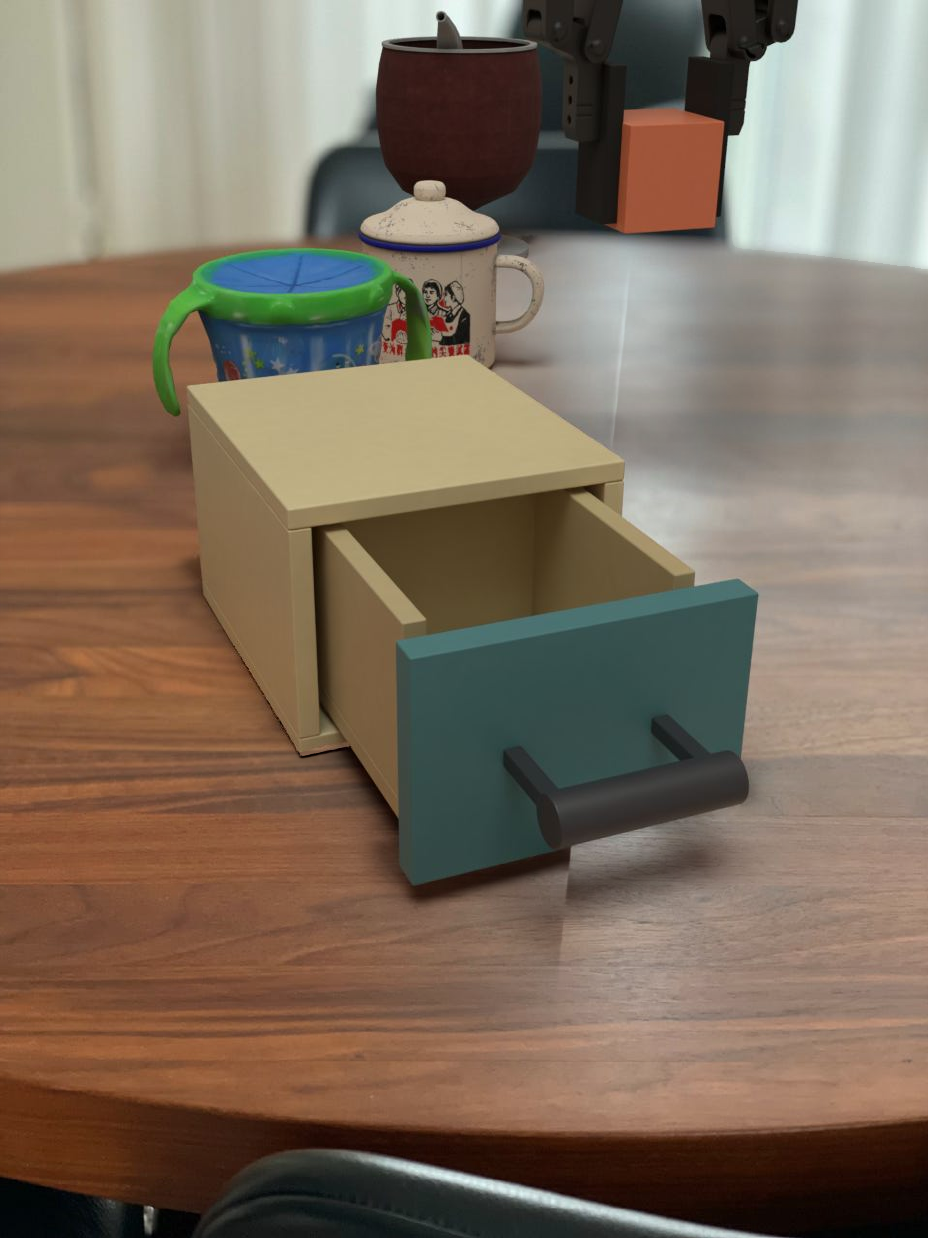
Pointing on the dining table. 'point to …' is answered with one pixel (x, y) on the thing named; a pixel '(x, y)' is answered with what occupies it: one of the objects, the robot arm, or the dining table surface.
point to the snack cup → (290, 315)
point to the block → (668, 171)
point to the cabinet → (353, 488)
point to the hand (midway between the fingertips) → (647, 213)
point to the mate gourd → (460, 115)
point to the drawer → (529, 676)
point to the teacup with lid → (445, 273)
